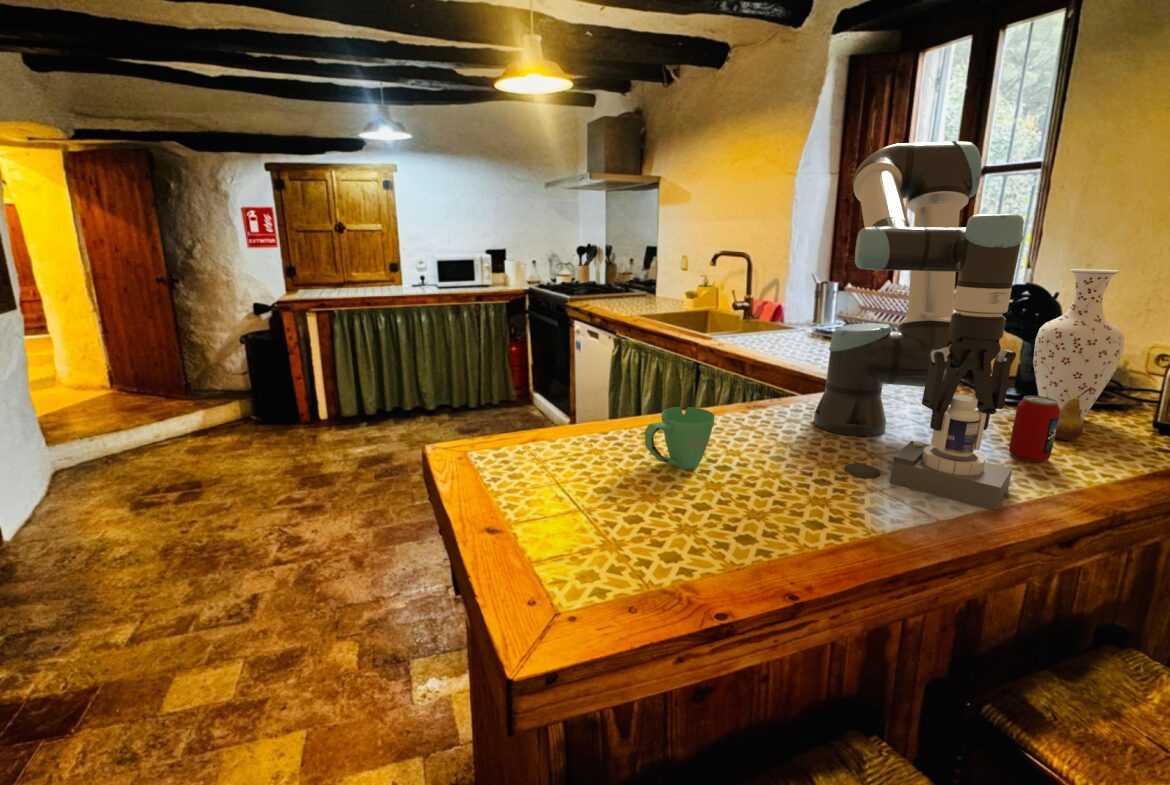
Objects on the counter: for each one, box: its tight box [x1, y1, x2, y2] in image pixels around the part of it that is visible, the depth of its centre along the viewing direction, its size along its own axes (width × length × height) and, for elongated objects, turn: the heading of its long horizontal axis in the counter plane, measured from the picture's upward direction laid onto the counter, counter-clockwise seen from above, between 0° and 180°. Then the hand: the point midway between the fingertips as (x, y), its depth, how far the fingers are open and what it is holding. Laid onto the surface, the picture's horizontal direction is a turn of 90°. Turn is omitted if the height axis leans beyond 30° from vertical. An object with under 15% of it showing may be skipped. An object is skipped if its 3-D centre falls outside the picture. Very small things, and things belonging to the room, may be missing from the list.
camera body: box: [889, 440, 1013, 512], centre depth 105 cm, size 16×11×6 cm
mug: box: [644, 406, 715, 470], centre depth 112 cm, size 15×10×10 cm
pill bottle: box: [938, 394, 980, 457], centre depth 102 cm, size 5×5×10 cm
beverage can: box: [1008, 395, 1060, 463], centre depth 118 cm, size 7×7×12 cm
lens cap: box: [843, 463, 881, 479], centre depth 112 cm, size 6×6×1 cm
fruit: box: [1055, 387, 1092, 442], centre depth 128 cm, size 6×6×12 cm
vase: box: [1032, 268, 1125, 422], centre depth 140 cm, size 16×16×35 cm
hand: (954, 447), depth 104 cm, fingers closed on pill bottle, 5 cm apart
